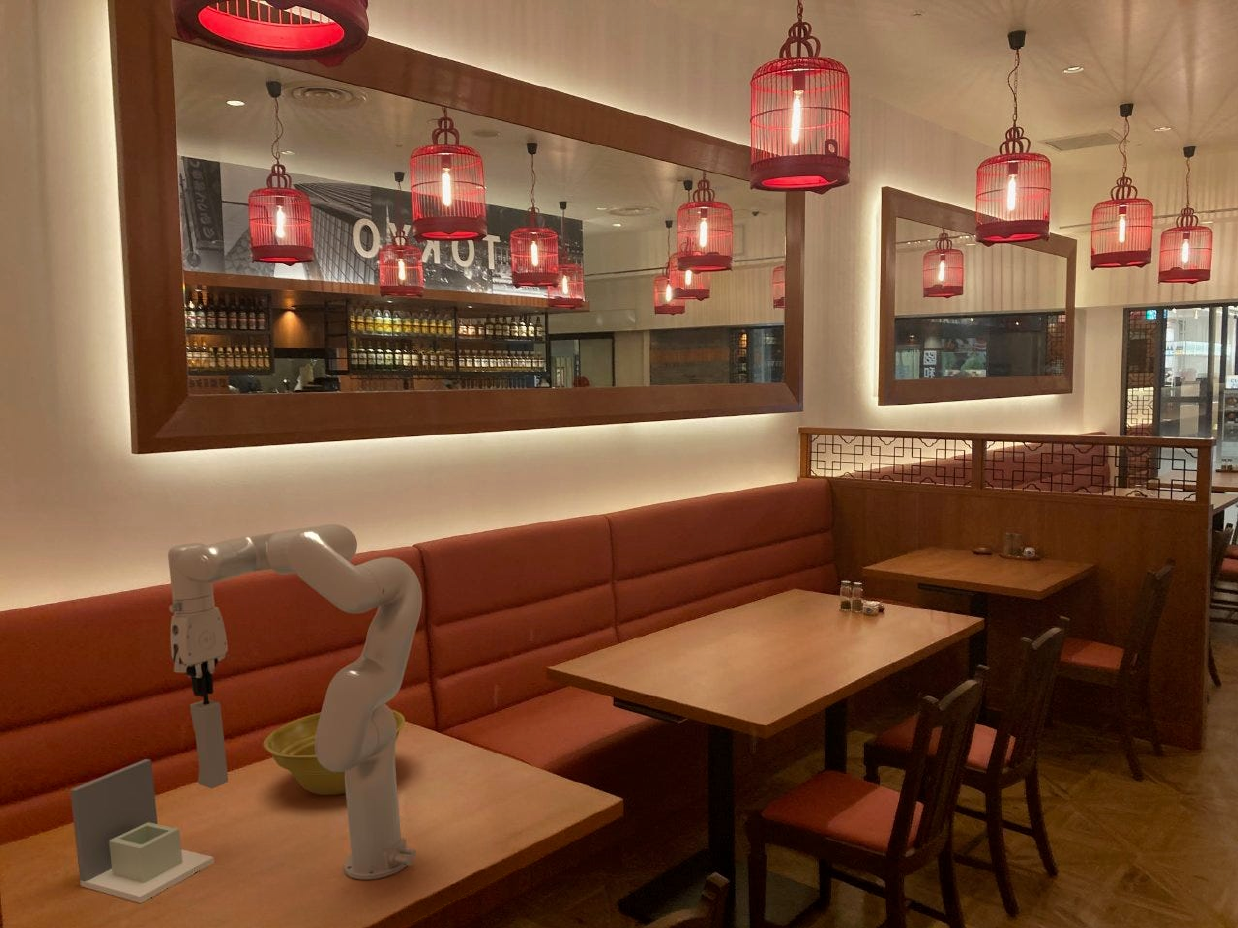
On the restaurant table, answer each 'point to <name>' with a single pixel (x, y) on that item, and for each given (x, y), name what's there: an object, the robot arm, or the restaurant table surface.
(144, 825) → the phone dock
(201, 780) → the vintage mobile phone
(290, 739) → the planter bowl
